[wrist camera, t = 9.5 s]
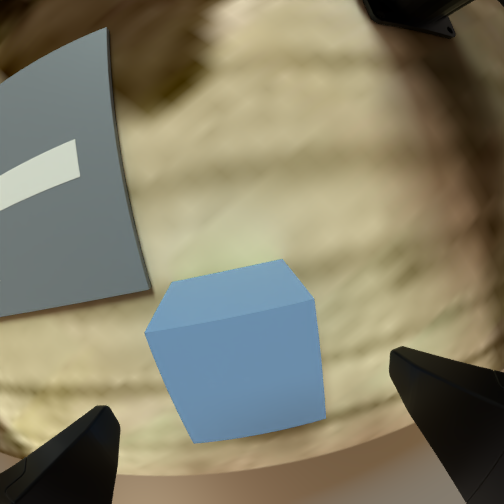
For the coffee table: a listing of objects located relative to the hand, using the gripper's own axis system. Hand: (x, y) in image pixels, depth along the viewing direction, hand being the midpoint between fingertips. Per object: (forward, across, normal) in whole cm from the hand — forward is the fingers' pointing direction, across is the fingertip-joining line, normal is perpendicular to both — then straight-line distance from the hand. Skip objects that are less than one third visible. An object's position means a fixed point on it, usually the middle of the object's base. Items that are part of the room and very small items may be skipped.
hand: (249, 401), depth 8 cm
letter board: (+6, +10, -9) cm, 15 cm away
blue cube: (+6, 0, 0) cm, 6 cm away
